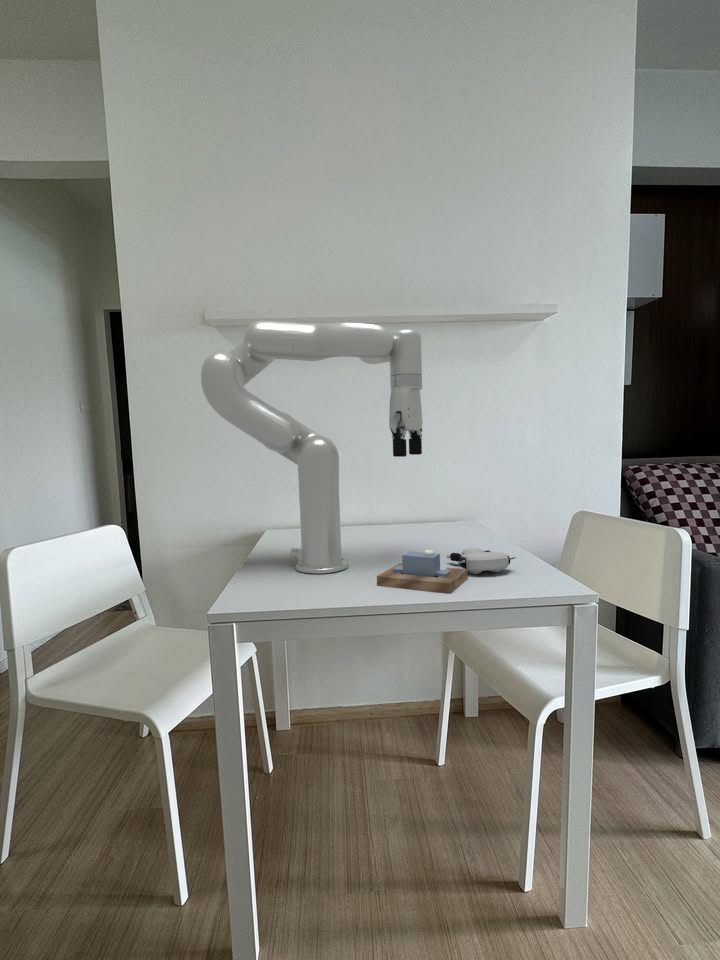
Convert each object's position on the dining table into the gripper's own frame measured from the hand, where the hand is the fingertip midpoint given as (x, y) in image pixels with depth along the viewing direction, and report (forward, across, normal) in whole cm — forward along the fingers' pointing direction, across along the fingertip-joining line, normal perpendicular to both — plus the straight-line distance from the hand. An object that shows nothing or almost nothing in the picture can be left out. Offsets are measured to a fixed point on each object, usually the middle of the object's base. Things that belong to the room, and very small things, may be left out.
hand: (407, 455), depth 133 cm
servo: (+26, +15, +9) cm, 32 cm away
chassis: (+26, +15, +9) cm, 32 cm away
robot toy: (+27, 0, +17) cm, 32 cm away
